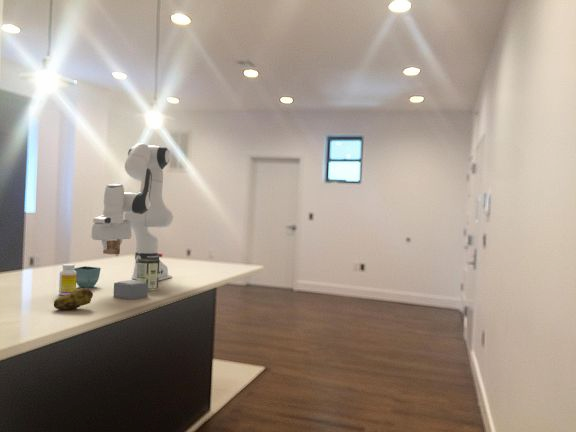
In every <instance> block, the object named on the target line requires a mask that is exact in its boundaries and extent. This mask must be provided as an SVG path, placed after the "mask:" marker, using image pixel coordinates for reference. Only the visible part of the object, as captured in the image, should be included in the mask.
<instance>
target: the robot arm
mask: <svg viewBox="0 0 576 432" xmlns="http://www.w3.org/2000/svg"><path fill="white" fill-rule="evenodd" d="M170 158H171V153H170V150H169V149H168V147H166V146H161V145H160V146H157V145H147V144H145V143H136V144H135V145H134V146H131V147H130V148H129V150H128V152H127V157H126V160H125V162H124V169H125V173H126V174H127V175H128V176H129V177H131V178H132V179H134V180H138V181H140V182H141V183H140V191H137V192H133V191H131V192H128V191H125V187H124V185H123V184H120V183H109V184H107V185H106V186H105V189H104V195H103V206H104V208H103V211H102V214H101V215H99V216H95V217H93V219H92V222H93V224H92V227H91V239H92V240H94V241H101V244H102V246H103V249H104V250H108V249H109V246H107V243H106V242H107V240H117V241H120V246H121V244H122V242H123V240H130V239H131V238H132V231H133V232H134V236H135V239H136V240H135V241H136V249H135V251H136V252H135V254H134V259H135V262H134V266H133V271H132V275H131V280H135V281H137V265H138V261H137V260H138V259H158V260H160V258H163V256H164V254H163V253H160V252H159V253H158V246H159V241H158V238H157V236H156V235H155V234H153V233H151V232H150V231H149V228H167V227H169V226H171V224H172V222H173V220H174V219H173V218H174V216H173V212H172V211H171V210H170V208H168V207H167V206H166V204H165V202H164V199H163V185H164V171H163V170H164V169H165V167H167V166H168V164H169V163H170ZM168 270H169V269H168V266H167V265H166V264H165V263H164V262H162V260H160V262H159V279H158V281H163V280H166V279H170V278H173V275H171V274H169V271H168Z"/></svg>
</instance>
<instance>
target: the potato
mask: <svg viewBox="0 0 576 432" xmlns="http://www.w3.org/2000/svg"><path fill="white" fill-rule="evenodd" d="M93 296H94V293H93V291H92V290H90V289H89V288H87V287H80V288H76V290H74V291H73V292H71V293H70V294H68V295H61V296H60V297H58V298H56V299H55V300H54V302H53V307H54V309H56V310H60V311H61V310H67V311H68V310H75V309H78V308H80V307H82V306H86V305H88V304H91V301H92V298H93Z"/></svg>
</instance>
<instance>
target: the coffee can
mask: <svg viewBox="0 0 576 432" xmlns="http://www.w3.org/2000/svg"><path fill="white" fill-rule="evenodd" d="M137 261H138V265H137V280H136V281H140V282H145V283H148V292H149V291H150V292H152V291H157V290H159V280H158V279H159V262H160V261H161V259H159V260H158V259H138V260H137Z"/></svg>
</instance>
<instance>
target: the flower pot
mask: <svg viewBox="0 0 576 432" xmlns="http://www.w3.org/2000/svg"><path fill="white" fill-rule="evenodd" d="M101 269H102V268H101V267H98V266H96V267H95V266H80V267H74V270H75V271H76V273H77V276H76V286H78V287H79V288H86V289H89V288H91V287H94V286H95V285H96V284H97V283H98V281H99V278H100V273H101Z"/></svg>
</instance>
